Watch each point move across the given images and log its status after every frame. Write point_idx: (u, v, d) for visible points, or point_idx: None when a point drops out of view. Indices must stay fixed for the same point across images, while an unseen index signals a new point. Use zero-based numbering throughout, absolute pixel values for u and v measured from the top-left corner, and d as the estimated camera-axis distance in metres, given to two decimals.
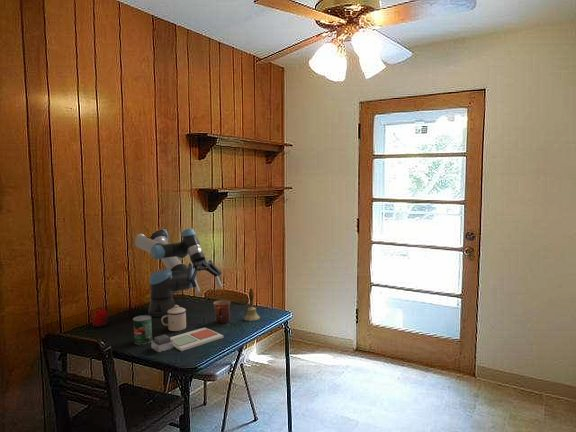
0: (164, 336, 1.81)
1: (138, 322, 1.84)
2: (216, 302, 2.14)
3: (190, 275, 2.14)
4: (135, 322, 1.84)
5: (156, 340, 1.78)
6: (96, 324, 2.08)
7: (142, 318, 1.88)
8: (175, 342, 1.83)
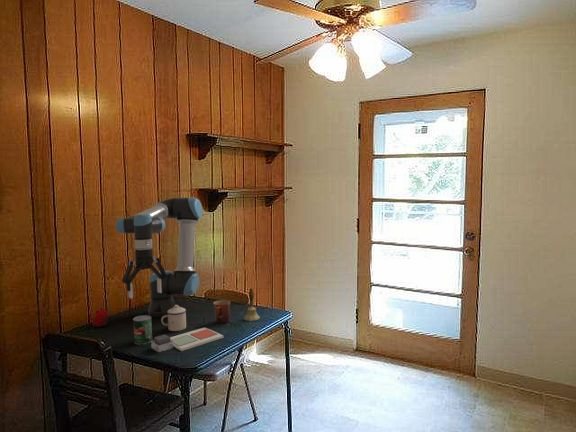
0: (164, 336, 1.81)
1: (138, 322, 1.84)
2: (216, 302, 2.14)
3: (127, 277, 1.80)
4: (135, 322, 1.84)
5: (156, 340, 1.78)
6: (96, 324, 2.08)
7: (142, 318, 1.88)
8: (175, 342, 1.83)
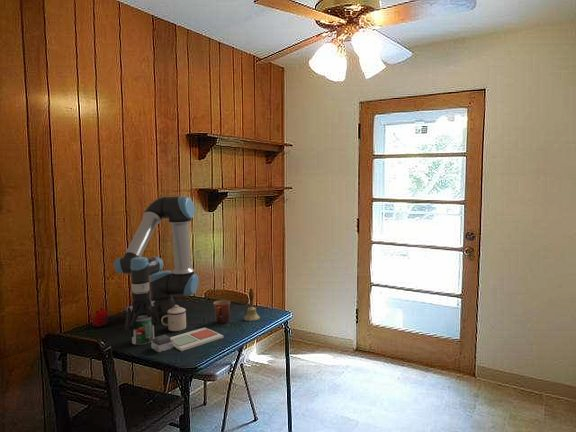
0: (164, 336, 1.81)
1: (138, 322, 1.84)
2: (216, 302, 2.14)
3: (129, 324, 1.82)
4: (135, 322, 1.84)
5: (156, 340, 1.78)
6: (96, 324, 2.08)
7: (142, 318, 1.88)
8: (175, 342, 1.83)
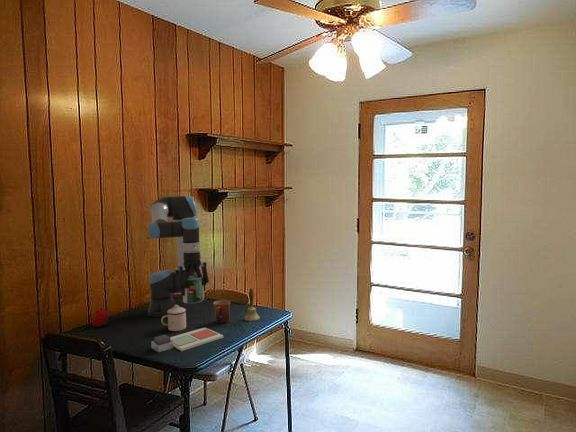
0: (164, 336, 1.81)
1: (189, 281, 1.86)
2: (216, 302, 2.14)
3: (181, 282, 1.85)
4: None
5: (156, 340, 1.78)
6: (96, 324, 2.08)
7: (192, 278, 1.90)
8: (175, 342, 1.83)
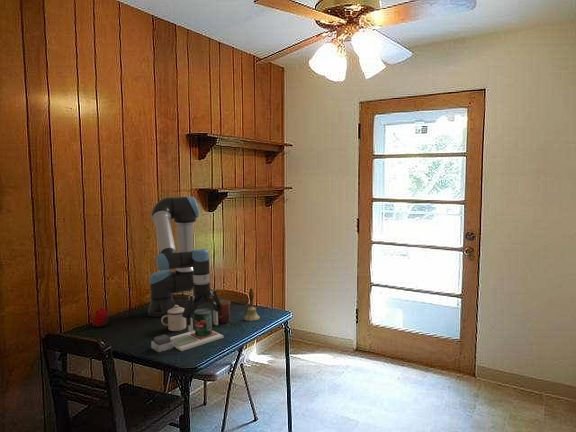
0: (164, 336, 1.81)
1: (200, 315, 1.88)
2: None
3: (187, 312, 1.85)
4: (197, 315, 1.89)
5: (156, 340, 1.78)
6: (96, 324, 2.08)
7: (202, 311, 1.92)
8: (175, 342, 1.83)
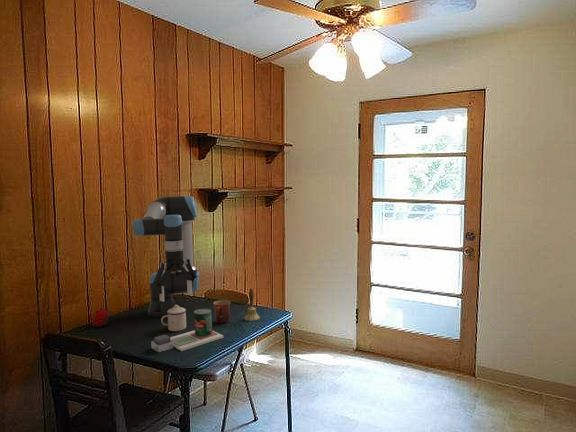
0: (164, 336, 1.81)
1: (200, 315, 1.88)
2: (216, 302, 2.14)
3: (158, 280, 1.75)
4: (197, 315, 1.89)
5: (156, 340, 1.78)
6: (96, 324, 2.08)
7: (202, 311, 1.92)
8: (175, 342, 1.83)
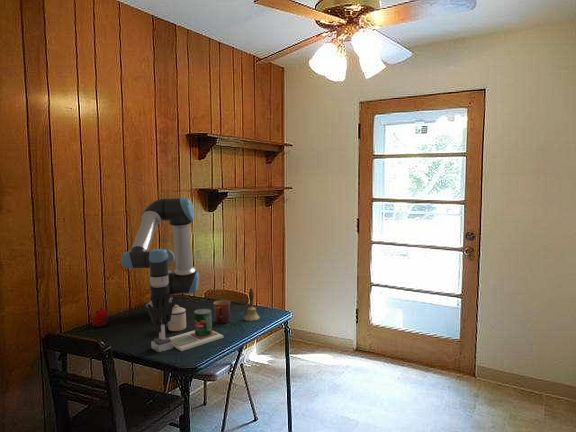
0: None
1: (200, 315, 1.88)
2: (216, 302, 2.14)
3: (155, 319, 1.76)
4: (197, 315, 1.89)
5: (156, 342, 1.78)
6: (96, 324, 2.08)
7: (203, 311, 1.92)
8: (175, 342, 1.83)
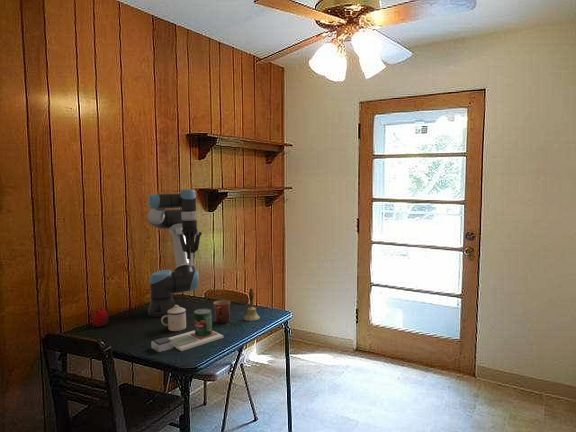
0: (164, 339, 1.81)
1: (200, 315, 1.88)
2: (216, 302, 2.14)
3: (185, 247, 2.10)
4: (197, 315, 1.89)
5: None
6: (96, 324, 2.08)
7: (203, 311, 1.92)
8: (175, 342, 1.83)
